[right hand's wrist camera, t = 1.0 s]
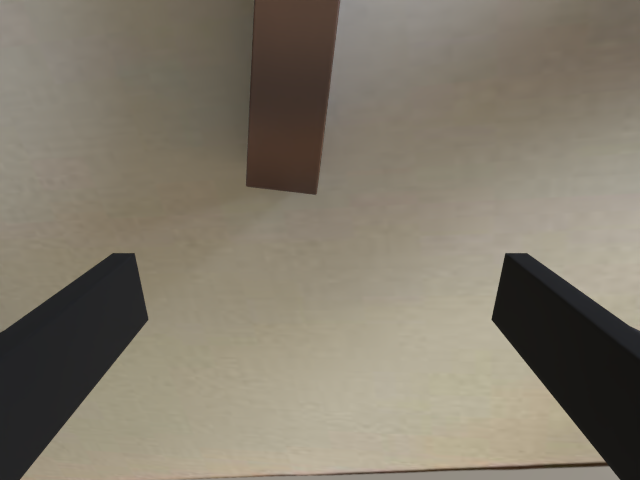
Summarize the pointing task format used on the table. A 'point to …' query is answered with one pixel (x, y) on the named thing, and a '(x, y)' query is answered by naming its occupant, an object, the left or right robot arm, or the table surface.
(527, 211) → the table surface
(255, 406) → the table surface
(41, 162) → the table surface
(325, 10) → the beam
